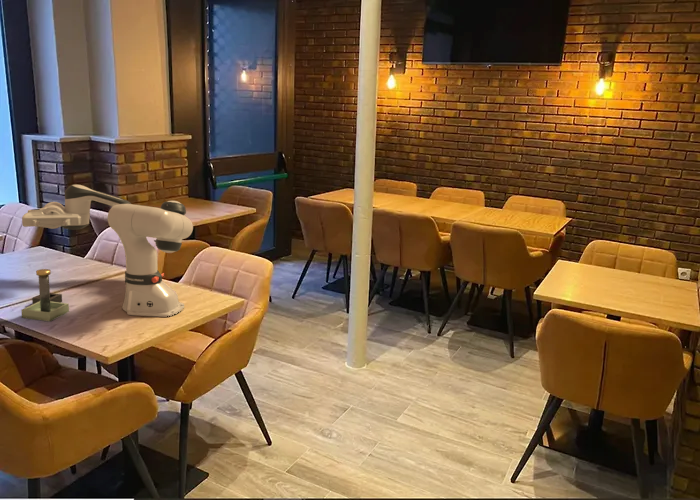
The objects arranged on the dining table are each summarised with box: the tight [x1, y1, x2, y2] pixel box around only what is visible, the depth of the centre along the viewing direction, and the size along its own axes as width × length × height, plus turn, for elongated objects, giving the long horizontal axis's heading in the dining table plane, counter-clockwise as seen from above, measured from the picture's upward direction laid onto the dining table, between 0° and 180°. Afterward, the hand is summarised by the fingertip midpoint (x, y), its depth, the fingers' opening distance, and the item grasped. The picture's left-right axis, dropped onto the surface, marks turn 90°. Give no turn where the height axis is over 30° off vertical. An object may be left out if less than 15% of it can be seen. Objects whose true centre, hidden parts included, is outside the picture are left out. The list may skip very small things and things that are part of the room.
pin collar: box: [31, 292, 63, 305], centre depth 213 cm, size 7×7×3 cm
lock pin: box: [35, 268, 52, 312], centre depth 201 cm, size 4×4×15 cm
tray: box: [21, 301, 70, 322], centre depth 203 cm, size 11×11×3 cm
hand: (51, 224), depth 217 cm, fingers open, 8 cm apart
